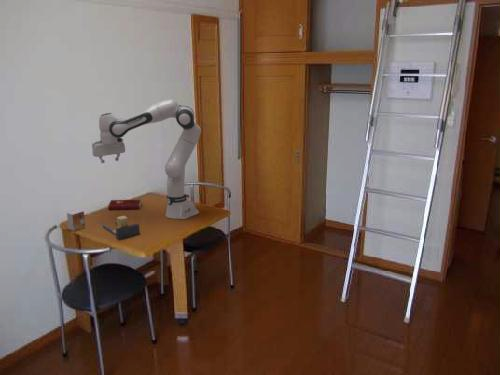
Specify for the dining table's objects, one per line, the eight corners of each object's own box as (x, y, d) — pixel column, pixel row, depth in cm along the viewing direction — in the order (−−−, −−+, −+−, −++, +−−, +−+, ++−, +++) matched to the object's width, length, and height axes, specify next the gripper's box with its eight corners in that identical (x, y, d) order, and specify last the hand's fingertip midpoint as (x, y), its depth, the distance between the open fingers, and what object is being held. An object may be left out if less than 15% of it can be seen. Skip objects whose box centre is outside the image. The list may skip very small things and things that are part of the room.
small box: (73, 231, 249) (72, 214, 246) (68, 229, 252) (66, 212, 249) (85, 227, 255) (84, 211, 252) (80, 225, 259) (78, 209, 256)
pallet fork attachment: (120, 223, 263) (119, 214, 262) (139, 234, 247) (139, 224, 246) (100, 228, 255) (99, 218, 253) (119, 240, 239) (118, 230, 237)
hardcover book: (140, 210, 287) (139, 204, 286) (108, 211, 285) (107, 205, 283) (142, 204, 299) (141, 199, 298) (111, 205, 296) (111, 199, 295)
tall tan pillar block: (124, 231, 251) (123, 215, 248) (128, 233, 248) (127, 217, 245) (117, 233, 248) (116, 217, 245) (121, 235, 245) (120, 219, 242)
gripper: (94, 142, 250) (96, 165, 254) (125, 138, 264) (127, 160, 268) (89, 141, 255) (91, 163, 259) (120, 137, 268) (122, 158, 272)
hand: (110, 161), depth 263 cm, fingers open, 8 cm apart
